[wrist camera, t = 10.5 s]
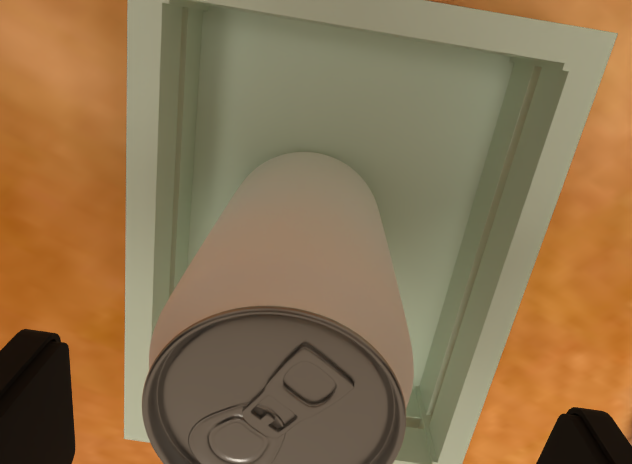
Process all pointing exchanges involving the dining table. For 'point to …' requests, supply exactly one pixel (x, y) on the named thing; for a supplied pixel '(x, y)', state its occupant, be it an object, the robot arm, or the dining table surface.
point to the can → (284, 329)
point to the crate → (362, 161)
